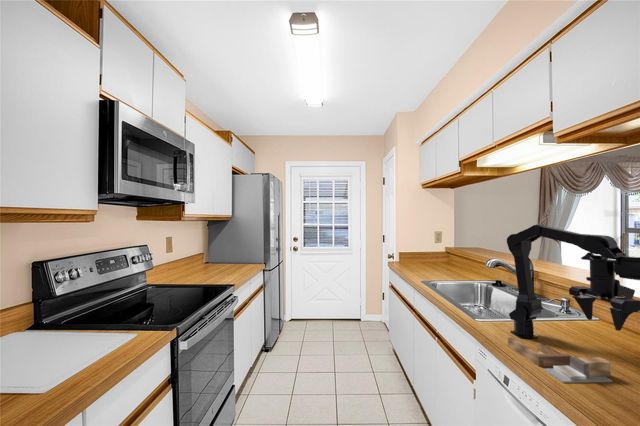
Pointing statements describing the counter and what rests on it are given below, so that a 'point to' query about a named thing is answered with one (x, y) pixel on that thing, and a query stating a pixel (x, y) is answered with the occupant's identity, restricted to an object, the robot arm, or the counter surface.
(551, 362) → the corner fence
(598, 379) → the mat
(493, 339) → the counter surface
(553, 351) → the shard
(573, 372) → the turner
